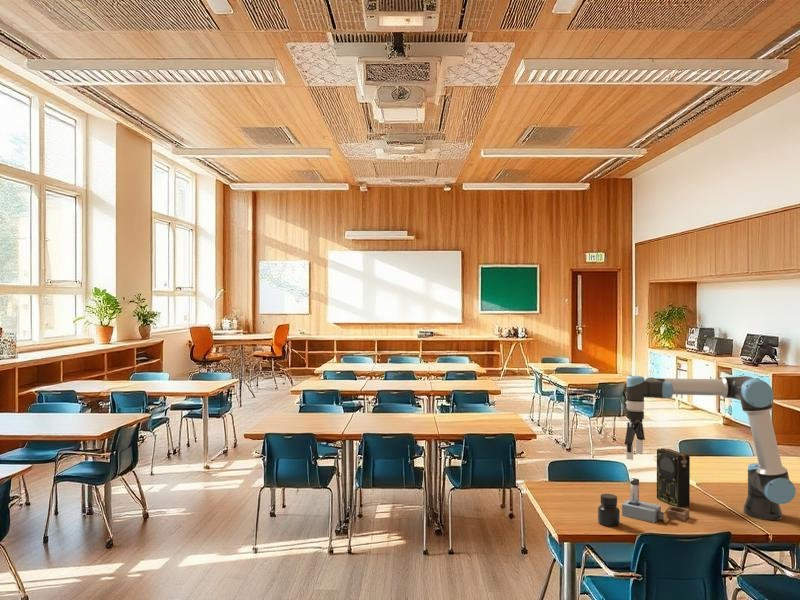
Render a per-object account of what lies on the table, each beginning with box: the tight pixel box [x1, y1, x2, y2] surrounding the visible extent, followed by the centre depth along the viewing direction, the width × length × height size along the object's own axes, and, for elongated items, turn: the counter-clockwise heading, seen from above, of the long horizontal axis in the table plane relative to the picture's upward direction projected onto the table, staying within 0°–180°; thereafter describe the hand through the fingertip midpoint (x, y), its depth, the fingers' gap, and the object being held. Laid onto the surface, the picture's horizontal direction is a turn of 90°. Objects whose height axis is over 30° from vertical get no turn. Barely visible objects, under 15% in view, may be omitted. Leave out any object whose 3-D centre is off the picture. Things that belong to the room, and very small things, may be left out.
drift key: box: [657, 510, 670, 524], centre depth 261 cm, size 9×4×4 cm, turn 51°
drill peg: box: [629, 478, 640, 506], centre depth 267 cm, size 4×4×16 cm
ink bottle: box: [597, 493, 621, 528], centre depth 256 cm, size 10×9×12 cm
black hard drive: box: [656, 447, 691, 508], centre depth 284 cm, size 16×9×25 cm, turn 16°
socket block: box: [621, 498, 662, 524], centre depth 265 cm, size 14×10×5 cm
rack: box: [665, 505, 690, 523], centre depth 264 cm, size 8×8×4 cm
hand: (634, 456), depth 268 cm, fingers open, 13 cm apart
